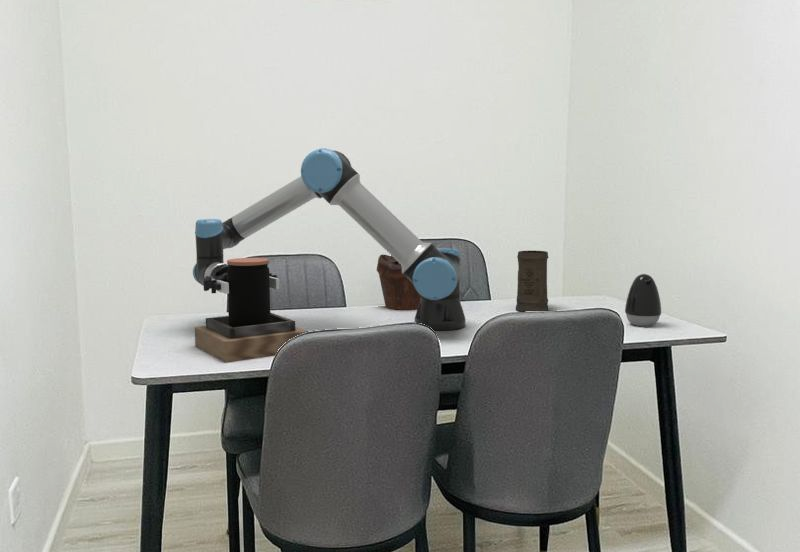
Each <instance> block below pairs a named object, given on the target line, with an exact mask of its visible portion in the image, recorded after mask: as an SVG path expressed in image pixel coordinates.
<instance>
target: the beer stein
mask: <svg viewBox="0 0 800 552" xmlns="http://www.w3.org/2000/svg"><path fill="white" fill-rule="evenodd" d="M516 258H517V264H518V265H517V266H518V270H517V290H516V291H517V293H516V300H515V301H516V304H515V305H516V306H515V311H517V312H521V313H525V311H547V312H548V311H549V305H548V303H549V298H548V259H549V252H548V251H545V250H520V251H518V252H517V256H516Z"/></svg>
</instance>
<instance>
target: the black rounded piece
mask: <svg viewBox="0 0 800 552" xmlns="http://www.w3.org/2000/svg"><path fill="white" fill-rule="evenodd" d="M624 308H625V309H624V313H625V315H626V318H627V319H626V320H627V321H628V322H629V323H630V324H632V325H633V326H636V327H644V328H645V327H652V326H654V325H656V324H657V322H659V320H660V316H661V315H662V303H661V297H660V293H659V290H658V286H657V284H656V282H655V280H654V278H653V276H651V275H650V274H647V273H642V274H641V273H640V274H639V275H637V276H636V277H635V278H634V279H633V281H632V283H631V286H630V288H629V290H628V293H627V297H626V303H625V307H624Z"/></svg>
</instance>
